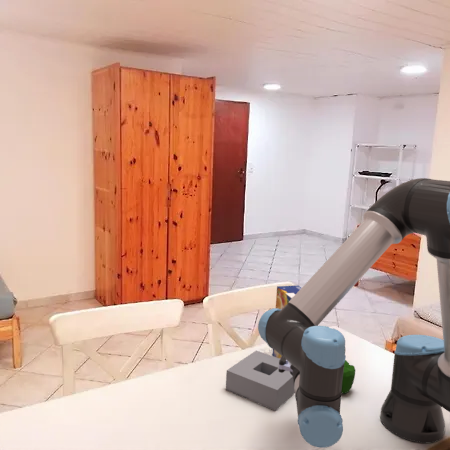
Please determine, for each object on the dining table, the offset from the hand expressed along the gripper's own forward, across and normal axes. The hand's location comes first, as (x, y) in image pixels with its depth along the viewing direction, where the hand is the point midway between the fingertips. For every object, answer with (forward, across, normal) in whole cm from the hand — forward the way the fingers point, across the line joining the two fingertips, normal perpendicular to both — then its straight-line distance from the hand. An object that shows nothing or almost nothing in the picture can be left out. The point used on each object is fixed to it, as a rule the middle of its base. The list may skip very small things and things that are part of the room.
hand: (302, 336), depth 114 cm
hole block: (+10, -9, -21) cm, 25 cm away
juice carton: (+26, 0, -21) cm, 33 cm away
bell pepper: (+13, +13, -21) cm, 28 cm away
